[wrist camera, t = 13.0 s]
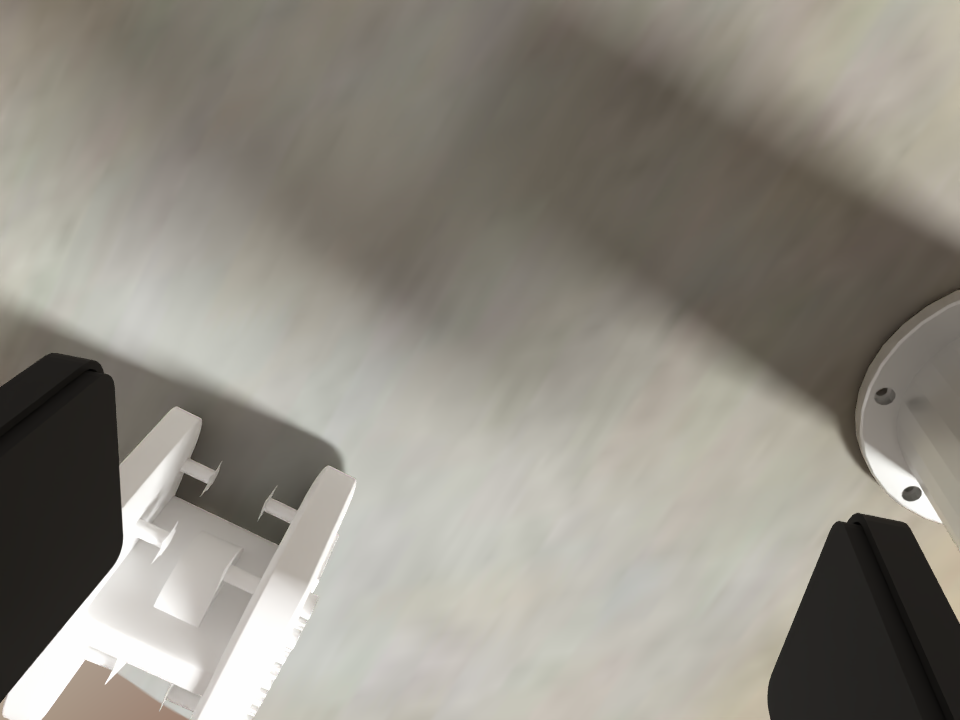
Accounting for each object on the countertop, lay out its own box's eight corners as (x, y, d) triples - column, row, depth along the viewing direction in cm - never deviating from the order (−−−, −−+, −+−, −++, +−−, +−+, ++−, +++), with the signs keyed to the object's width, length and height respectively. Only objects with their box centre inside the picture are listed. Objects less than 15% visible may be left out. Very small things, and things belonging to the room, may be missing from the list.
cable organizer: (191, 372, 43) (62, 507, 33) (377, 464, 44) (309, 623, 34) (115, 568, 50) (-12, 732, 39) (278, 644, 51) (196, 822, 40)
